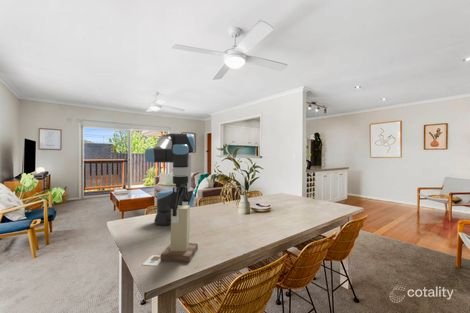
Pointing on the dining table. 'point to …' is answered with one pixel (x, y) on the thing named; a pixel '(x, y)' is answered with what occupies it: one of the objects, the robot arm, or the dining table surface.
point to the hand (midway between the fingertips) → (180, 218)
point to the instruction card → (152, 260)
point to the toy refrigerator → (180, 230)
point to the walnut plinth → (179, 254)
